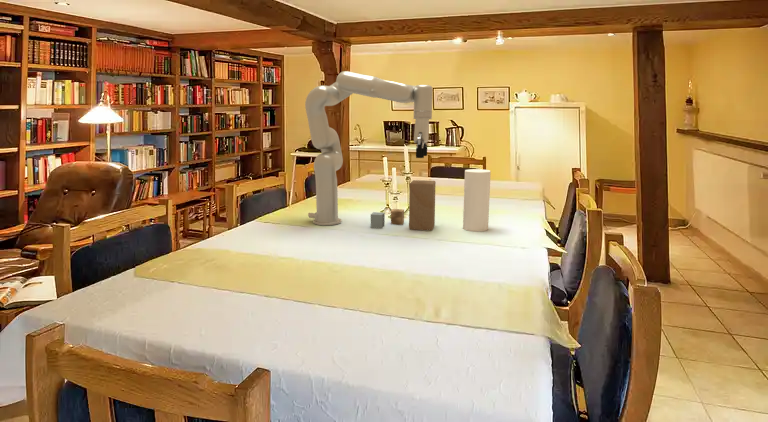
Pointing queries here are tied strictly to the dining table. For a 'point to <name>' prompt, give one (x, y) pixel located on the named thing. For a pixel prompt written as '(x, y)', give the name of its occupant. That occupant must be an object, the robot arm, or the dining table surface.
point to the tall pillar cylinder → (476, 199)
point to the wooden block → (421, 205)
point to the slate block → (377, 220)
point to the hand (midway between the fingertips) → (421, 156)
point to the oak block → (397, 216)
